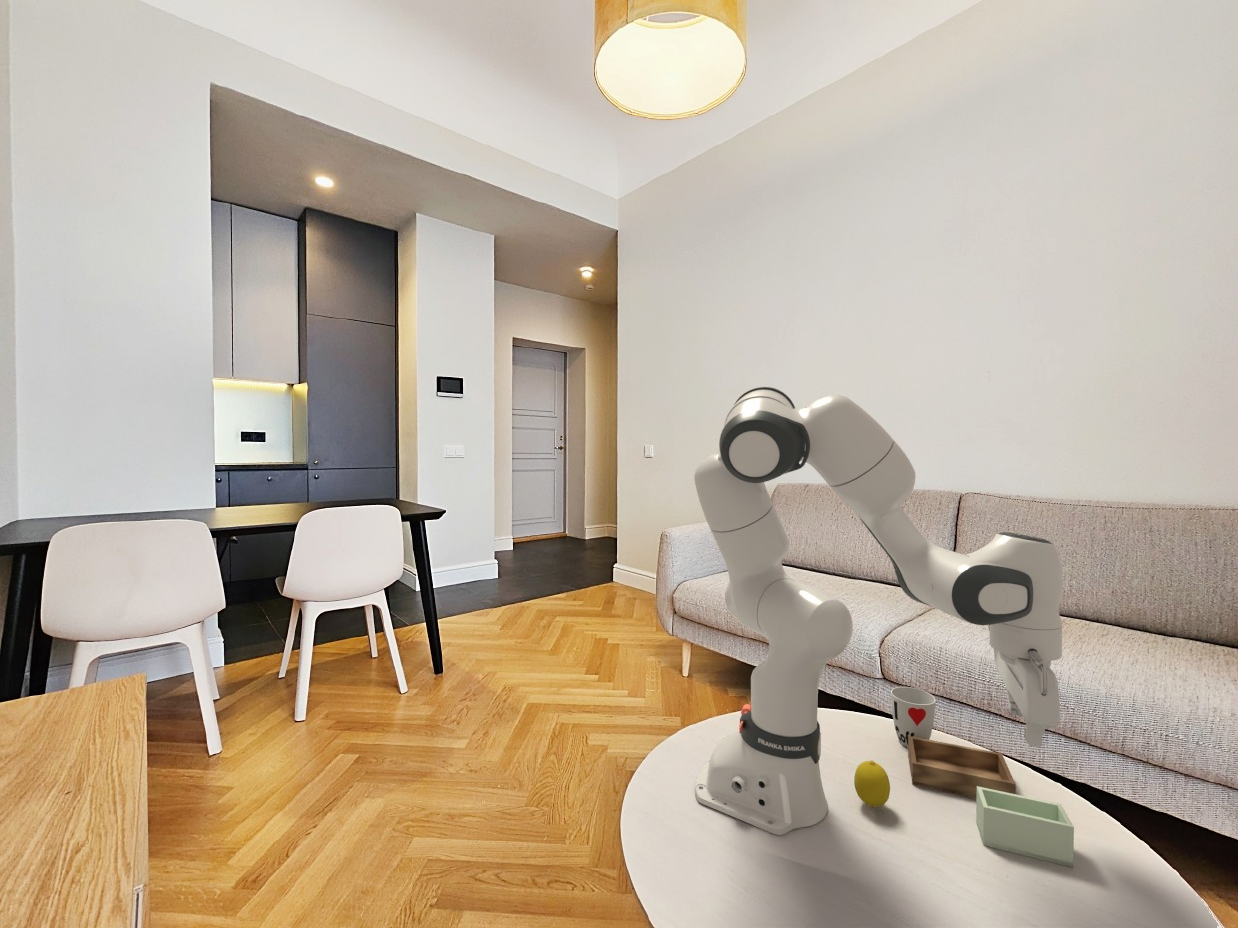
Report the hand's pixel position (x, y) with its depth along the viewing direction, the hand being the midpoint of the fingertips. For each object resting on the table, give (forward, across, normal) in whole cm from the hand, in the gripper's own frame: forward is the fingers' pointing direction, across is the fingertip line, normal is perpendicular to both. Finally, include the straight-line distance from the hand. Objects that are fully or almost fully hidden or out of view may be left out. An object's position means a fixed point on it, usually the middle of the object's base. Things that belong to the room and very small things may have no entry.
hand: (1024, 727), depth 82 cm
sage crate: (+18, 0, 0) cm, 18 cm away
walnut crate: (+18, +14, +7) cm, 24 cm away
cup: (+18, +25, +13) cm, 34 cm away
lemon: (+18, 0, +21) cm, 28 cm away
